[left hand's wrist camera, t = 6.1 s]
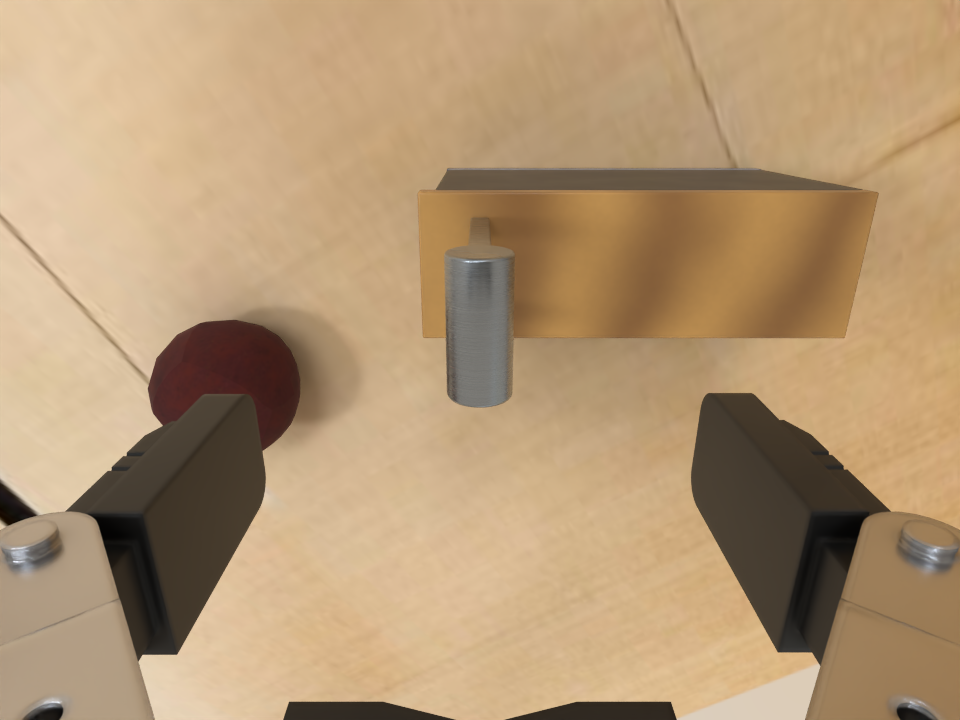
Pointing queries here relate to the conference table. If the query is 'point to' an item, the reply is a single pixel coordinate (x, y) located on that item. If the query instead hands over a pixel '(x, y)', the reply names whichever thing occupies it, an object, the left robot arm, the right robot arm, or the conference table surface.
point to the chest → (626, 179)
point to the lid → (631, 269)
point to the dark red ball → (228, 373)
